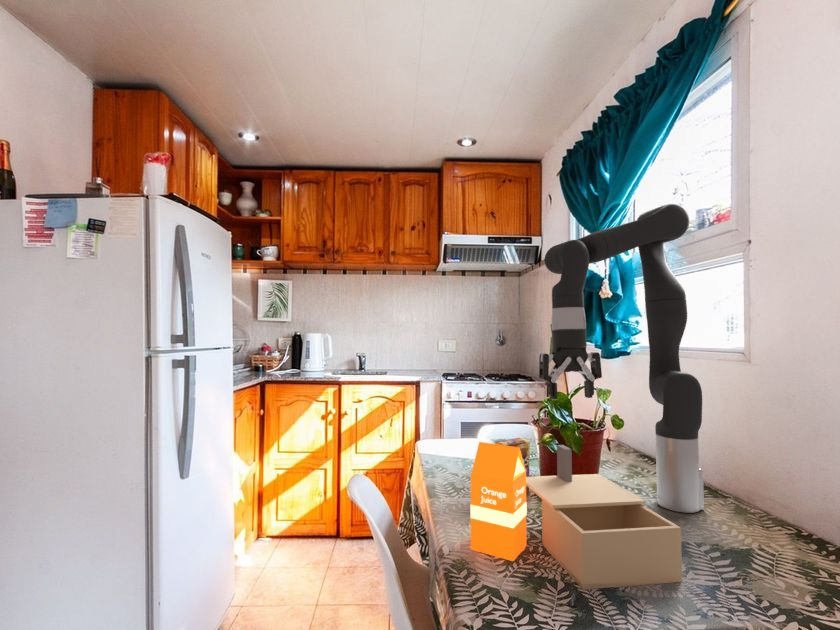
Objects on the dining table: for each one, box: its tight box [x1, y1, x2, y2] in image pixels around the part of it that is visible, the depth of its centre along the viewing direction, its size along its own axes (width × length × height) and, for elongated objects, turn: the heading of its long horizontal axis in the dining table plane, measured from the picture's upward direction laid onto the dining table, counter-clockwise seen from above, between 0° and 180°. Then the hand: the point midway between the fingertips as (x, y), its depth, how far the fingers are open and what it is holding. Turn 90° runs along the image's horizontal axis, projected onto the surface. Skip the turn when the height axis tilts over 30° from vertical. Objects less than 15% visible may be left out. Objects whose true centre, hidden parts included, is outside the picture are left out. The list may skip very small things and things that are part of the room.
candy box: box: [494, 437, 531, 502], centre depth 111 cm, size 9×4×15 cm, turn 123°
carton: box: [541, 499, 683, 590], centre depth 81 cm, size 18×16×9 cm
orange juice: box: [470, 441, 528, 562], centre depth 87 cm, size 8×9×20 cm
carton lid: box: [526, 444, 647, 509], centre depth 92 cm, size 19×17×8 cm
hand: (571, 398), depth 100 cm, fingers open, 8 cm apart
